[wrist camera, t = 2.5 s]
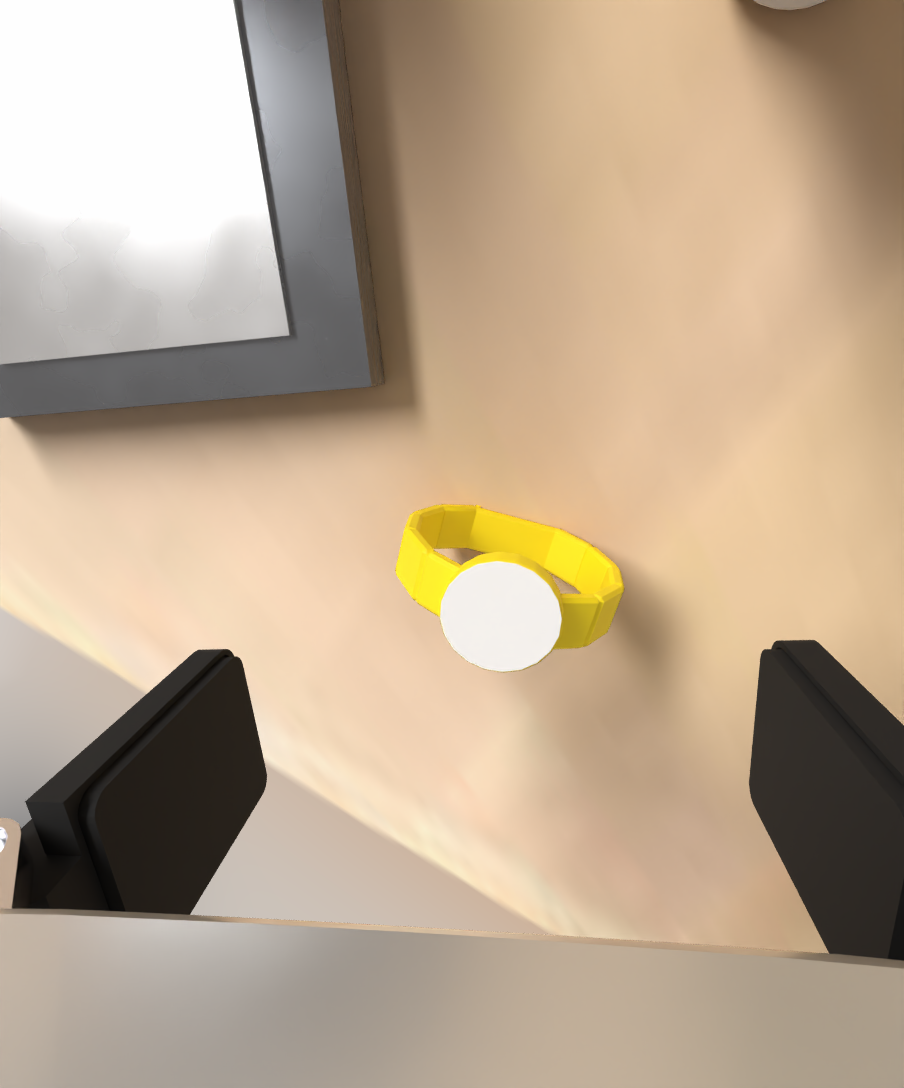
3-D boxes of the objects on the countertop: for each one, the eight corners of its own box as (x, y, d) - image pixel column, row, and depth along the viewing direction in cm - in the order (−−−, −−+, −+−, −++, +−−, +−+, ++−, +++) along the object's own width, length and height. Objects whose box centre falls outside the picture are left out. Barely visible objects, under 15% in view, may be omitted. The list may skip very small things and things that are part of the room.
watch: (418, 549, 19) (354, 629, 13) (437, 470, 18) (376, 522, 12) (594, 602, 18) (603, 711, 13) (623, 523, 17) (648, 603, 12)
